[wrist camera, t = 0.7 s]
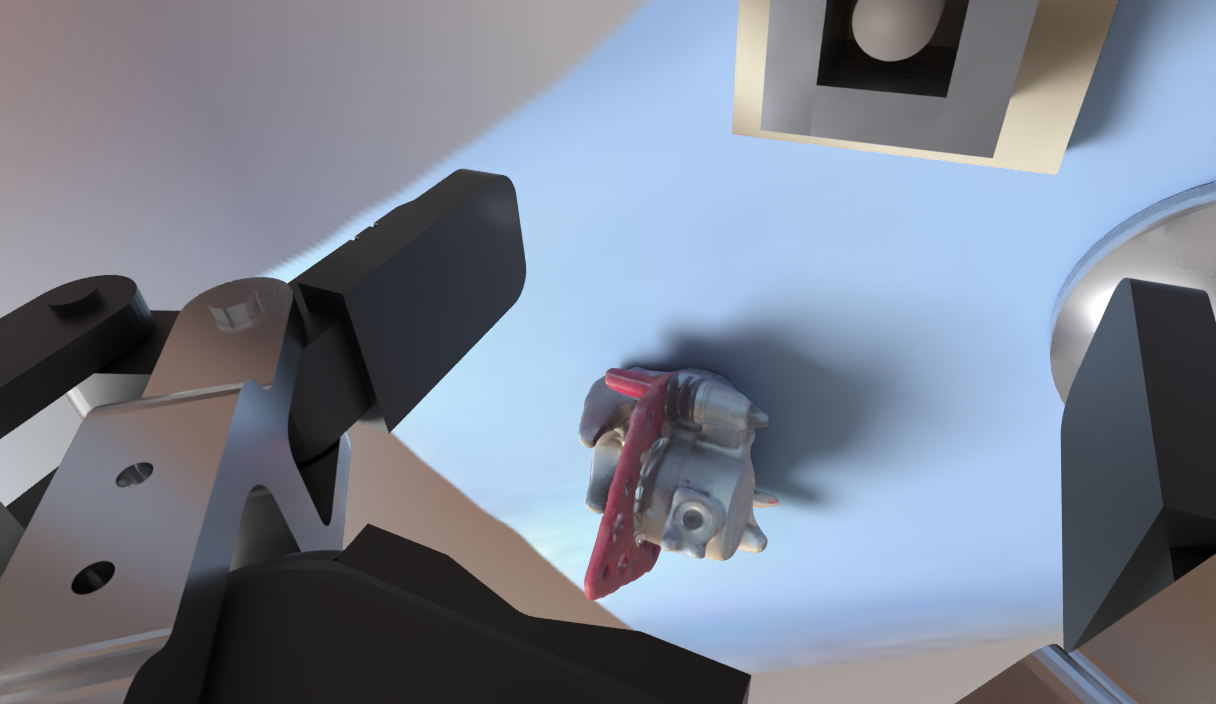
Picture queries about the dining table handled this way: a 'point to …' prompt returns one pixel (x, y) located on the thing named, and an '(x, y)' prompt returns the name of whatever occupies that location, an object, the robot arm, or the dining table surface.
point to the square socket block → (893, 79)
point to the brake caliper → (669, 471)
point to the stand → (934, 15)
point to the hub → (1134, 270)
